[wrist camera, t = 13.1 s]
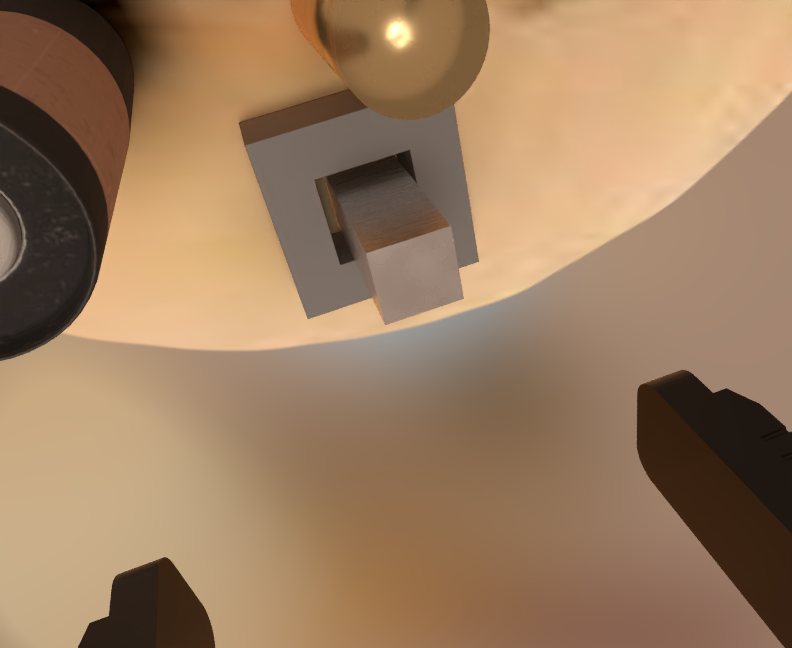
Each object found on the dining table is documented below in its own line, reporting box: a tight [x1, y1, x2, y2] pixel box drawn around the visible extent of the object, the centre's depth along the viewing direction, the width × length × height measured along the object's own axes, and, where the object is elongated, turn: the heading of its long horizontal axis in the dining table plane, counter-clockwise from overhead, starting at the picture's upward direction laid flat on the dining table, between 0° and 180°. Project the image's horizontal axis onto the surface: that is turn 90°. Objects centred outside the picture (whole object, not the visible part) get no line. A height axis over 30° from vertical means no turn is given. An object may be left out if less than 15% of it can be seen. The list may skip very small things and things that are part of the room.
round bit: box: [291, 0, 490, 120], centre depth 29 cm, size 6×6×12 cm
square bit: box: [323, 155, 464, 325], centre depth 35 cm, size 4×4×12 cm
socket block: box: [239, 89, 479, 319], centre depth 38 cm, size 11×11×4 cm
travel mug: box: [0, 0, 134, 361], centre depth 24 cm, size 8×8×20 cm
